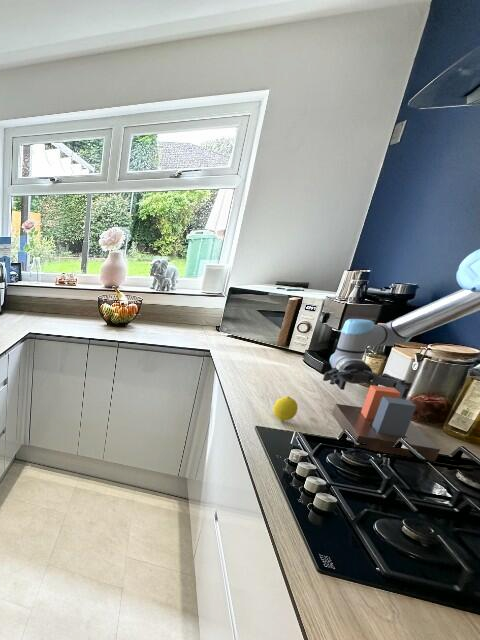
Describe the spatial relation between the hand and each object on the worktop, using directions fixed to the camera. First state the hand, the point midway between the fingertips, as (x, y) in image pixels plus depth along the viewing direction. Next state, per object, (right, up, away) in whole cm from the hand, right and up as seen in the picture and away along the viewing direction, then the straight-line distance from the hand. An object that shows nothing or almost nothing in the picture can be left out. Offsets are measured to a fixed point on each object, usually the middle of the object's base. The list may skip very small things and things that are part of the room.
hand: (373, 389), depth 118 cm
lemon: (-26, -10, +2) cm, 28 cm away
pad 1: (-4, -11, -3) cm, 12 cm away
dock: (-7, -13, -7) cm, 16 cm away
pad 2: (-9, -14, -12) cm, 20 cm away
